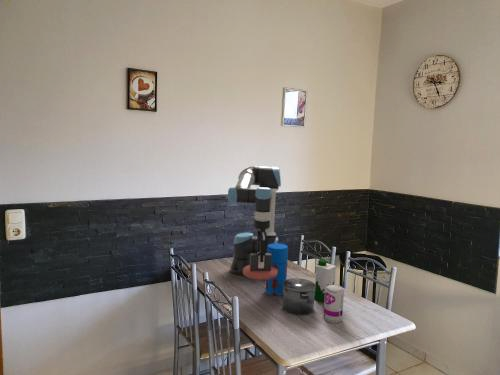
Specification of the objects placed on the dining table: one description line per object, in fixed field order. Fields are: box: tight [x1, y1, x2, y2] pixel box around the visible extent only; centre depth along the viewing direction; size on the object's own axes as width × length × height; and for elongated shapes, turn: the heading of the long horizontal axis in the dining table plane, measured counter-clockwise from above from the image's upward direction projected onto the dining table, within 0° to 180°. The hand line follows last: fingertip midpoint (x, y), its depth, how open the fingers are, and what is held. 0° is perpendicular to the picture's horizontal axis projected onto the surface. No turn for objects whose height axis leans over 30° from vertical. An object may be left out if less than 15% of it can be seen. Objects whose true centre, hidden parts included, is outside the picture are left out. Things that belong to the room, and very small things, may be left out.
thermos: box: [265, 242, 289, 297], centre depth 195 cm, size 11×11×25 cm
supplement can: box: [323, 284, 345, 324], centre depth 167 cm, size 8×8×15 cm
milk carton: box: [314, 259, 337, 304], centre depth 187 cm, size 9×9×20 cm
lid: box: [243, 253, 278, 281], centre depth 180 cm, size 17×17×10 cm
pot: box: [281, 277, 316, 316], centre depth 177 cm, size 21×16×12 cm
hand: (260, 266), depth 180 cm, fingers closed on lid, 3 cm apart
